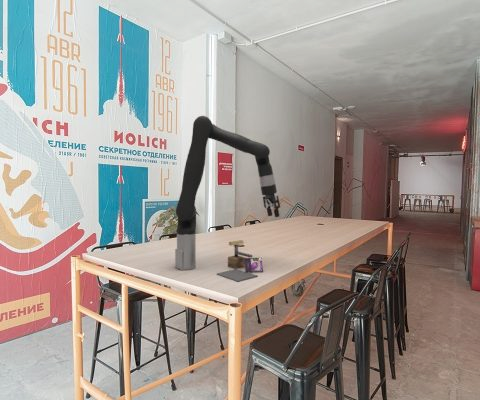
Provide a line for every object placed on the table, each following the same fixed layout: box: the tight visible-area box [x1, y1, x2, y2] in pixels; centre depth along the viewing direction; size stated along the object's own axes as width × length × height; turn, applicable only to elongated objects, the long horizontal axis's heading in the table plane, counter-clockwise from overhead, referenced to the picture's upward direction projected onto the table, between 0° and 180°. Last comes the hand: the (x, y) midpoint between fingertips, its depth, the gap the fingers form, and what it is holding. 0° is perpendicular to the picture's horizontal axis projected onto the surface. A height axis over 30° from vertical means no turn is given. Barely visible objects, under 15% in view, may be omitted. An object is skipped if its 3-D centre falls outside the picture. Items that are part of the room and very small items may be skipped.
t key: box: [228, 240, 253, 258], centre depth 159 cm, size 8×12×8 cm, turn 41°
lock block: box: [227, 255, 246, 270], centre depth 163 cm, size 6×6×5 cm
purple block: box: [244, 257, 264, 273], centre depth 154 cm, size 7×5×9 cm
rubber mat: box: [216, 268, 258, 283], centre depth 147 cm, size 12×15×1 cm
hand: (273, 216), depth 162 cm, fingers open, 8 cm apart
